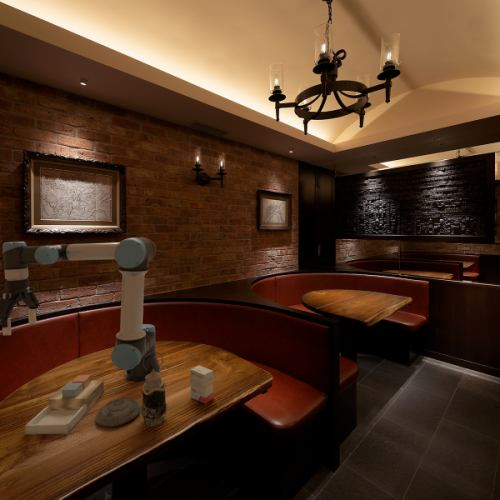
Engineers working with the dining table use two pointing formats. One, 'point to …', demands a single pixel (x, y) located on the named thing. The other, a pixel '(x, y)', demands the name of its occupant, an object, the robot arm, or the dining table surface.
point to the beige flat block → (78, 397)
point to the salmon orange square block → (83, 380)
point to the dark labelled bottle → (153, 398)
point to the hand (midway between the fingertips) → (20, 329)
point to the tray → (54, 421)
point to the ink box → (201, 384)
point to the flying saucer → (118, 412)
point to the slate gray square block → (72, 390)
